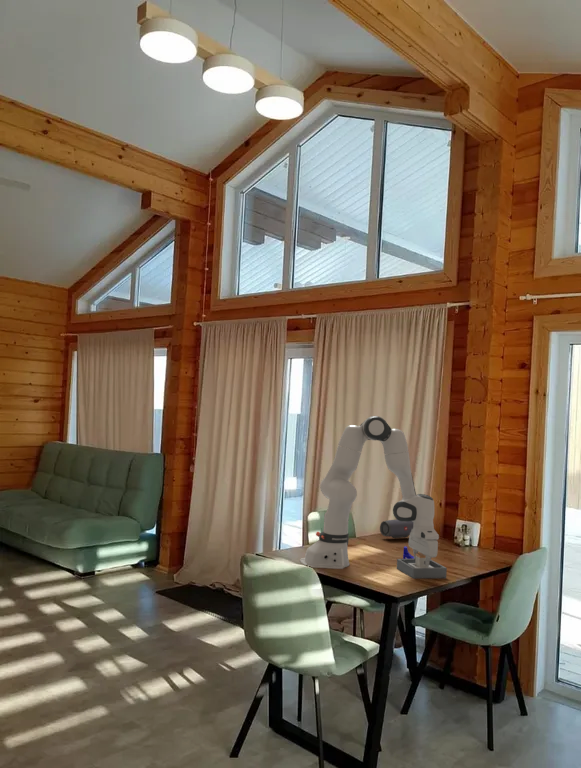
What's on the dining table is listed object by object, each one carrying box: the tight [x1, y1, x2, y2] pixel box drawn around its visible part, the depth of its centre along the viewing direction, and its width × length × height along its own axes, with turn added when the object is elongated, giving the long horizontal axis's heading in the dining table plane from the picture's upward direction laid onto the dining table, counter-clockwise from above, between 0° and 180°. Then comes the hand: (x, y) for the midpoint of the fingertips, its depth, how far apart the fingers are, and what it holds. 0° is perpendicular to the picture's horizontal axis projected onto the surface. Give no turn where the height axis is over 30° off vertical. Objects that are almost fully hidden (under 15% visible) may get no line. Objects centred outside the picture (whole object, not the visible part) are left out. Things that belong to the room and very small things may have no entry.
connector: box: [415, 552, 428, 568], centre depth 290 cm, size 4×4×8 cm
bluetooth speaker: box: [379, 518, 414, 539], centre depth 365 cm, size 23×9×10 cm, turn 121°
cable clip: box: [402, 545, 414, 559], centre depth 314 cm, size 12×4×6 cm, turn 77°
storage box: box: [396, 558, 448, 579], centre depth 290 cm, size 16×16×5 cm
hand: (421, 562), depth 290 cm, fingers open, 8 cm apart
